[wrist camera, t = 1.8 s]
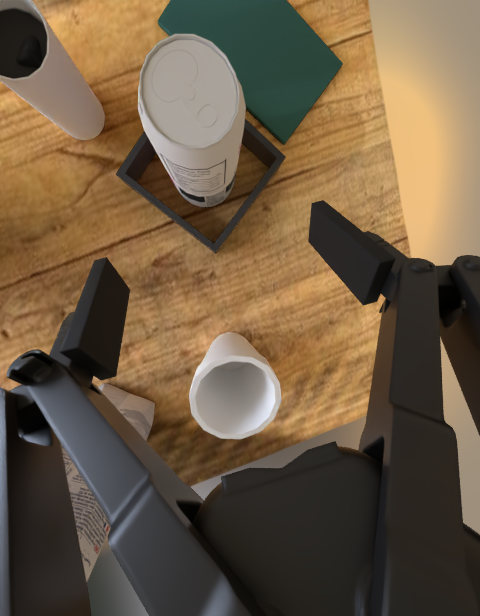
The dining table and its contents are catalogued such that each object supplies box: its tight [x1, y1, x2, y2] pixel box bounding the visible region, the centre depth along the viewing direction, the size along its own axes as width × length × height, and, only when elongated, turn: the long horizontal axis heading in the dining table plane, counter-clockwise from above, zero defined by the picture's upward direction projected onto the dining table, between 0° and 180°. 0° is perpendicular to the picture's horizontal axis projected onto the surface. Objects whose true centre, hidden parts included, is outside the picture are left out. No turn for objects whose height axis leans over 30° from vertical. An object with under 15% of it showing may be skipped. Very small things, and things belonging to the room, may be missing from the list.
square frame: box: [116, 119, 285, 254], centre depth 29 cm, size 15×15×4 cm
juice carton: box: [60, 383, 155, 582], centre depth 22 cm, size 9×10×27 cm
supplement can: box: [138, 34, 246, 207], centre depth 23 cm, size 8×8×15 cm
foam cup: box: [189, 332, 281, 439], centre depth 29 cm, size 10×9×13 cm
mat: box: [158, 0, 343, 145], centre depth 28 cm, size 20×12×1 cm, turn 53°
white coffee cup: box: [0, 0, 105, 140], centre depth 23 cm, size 7×7×10 cm
